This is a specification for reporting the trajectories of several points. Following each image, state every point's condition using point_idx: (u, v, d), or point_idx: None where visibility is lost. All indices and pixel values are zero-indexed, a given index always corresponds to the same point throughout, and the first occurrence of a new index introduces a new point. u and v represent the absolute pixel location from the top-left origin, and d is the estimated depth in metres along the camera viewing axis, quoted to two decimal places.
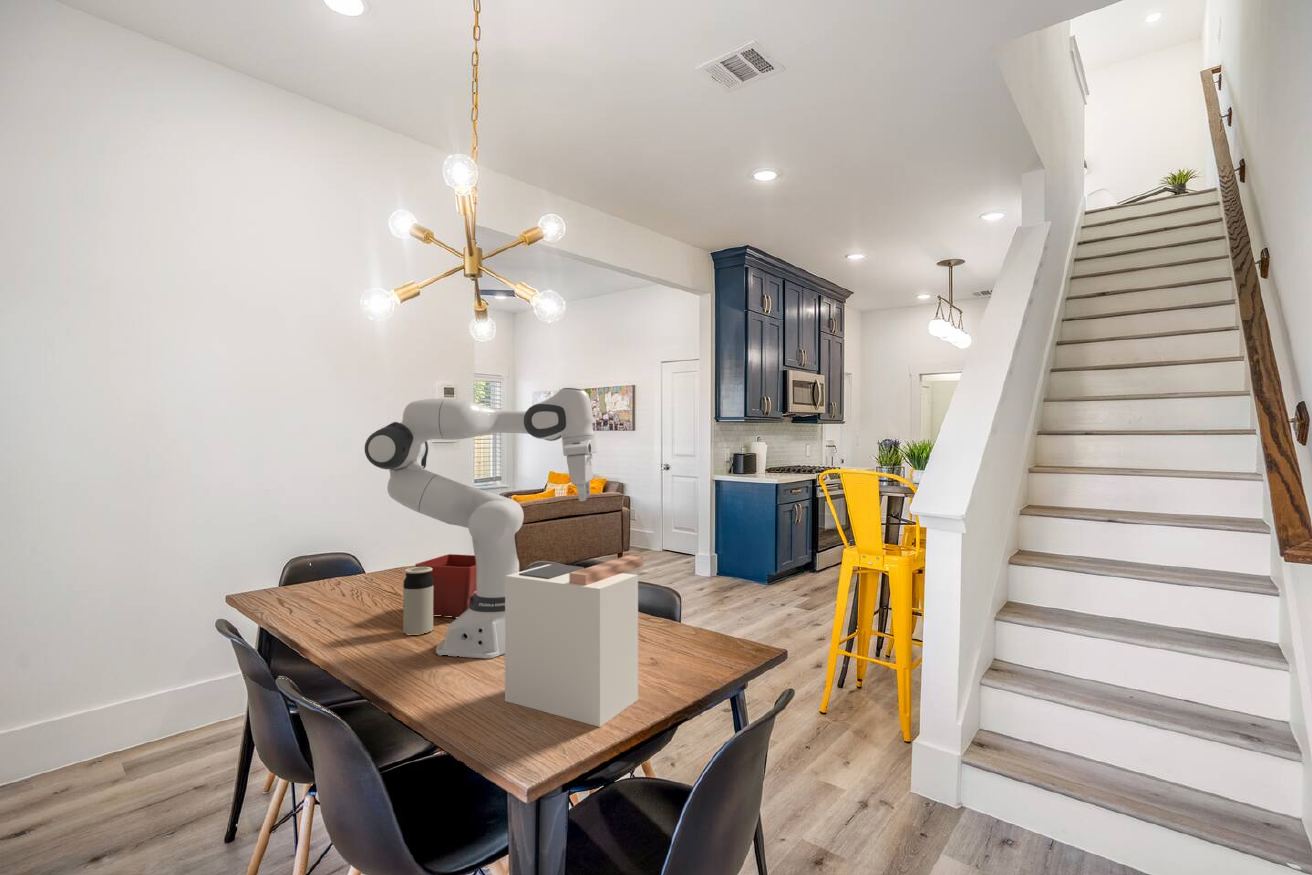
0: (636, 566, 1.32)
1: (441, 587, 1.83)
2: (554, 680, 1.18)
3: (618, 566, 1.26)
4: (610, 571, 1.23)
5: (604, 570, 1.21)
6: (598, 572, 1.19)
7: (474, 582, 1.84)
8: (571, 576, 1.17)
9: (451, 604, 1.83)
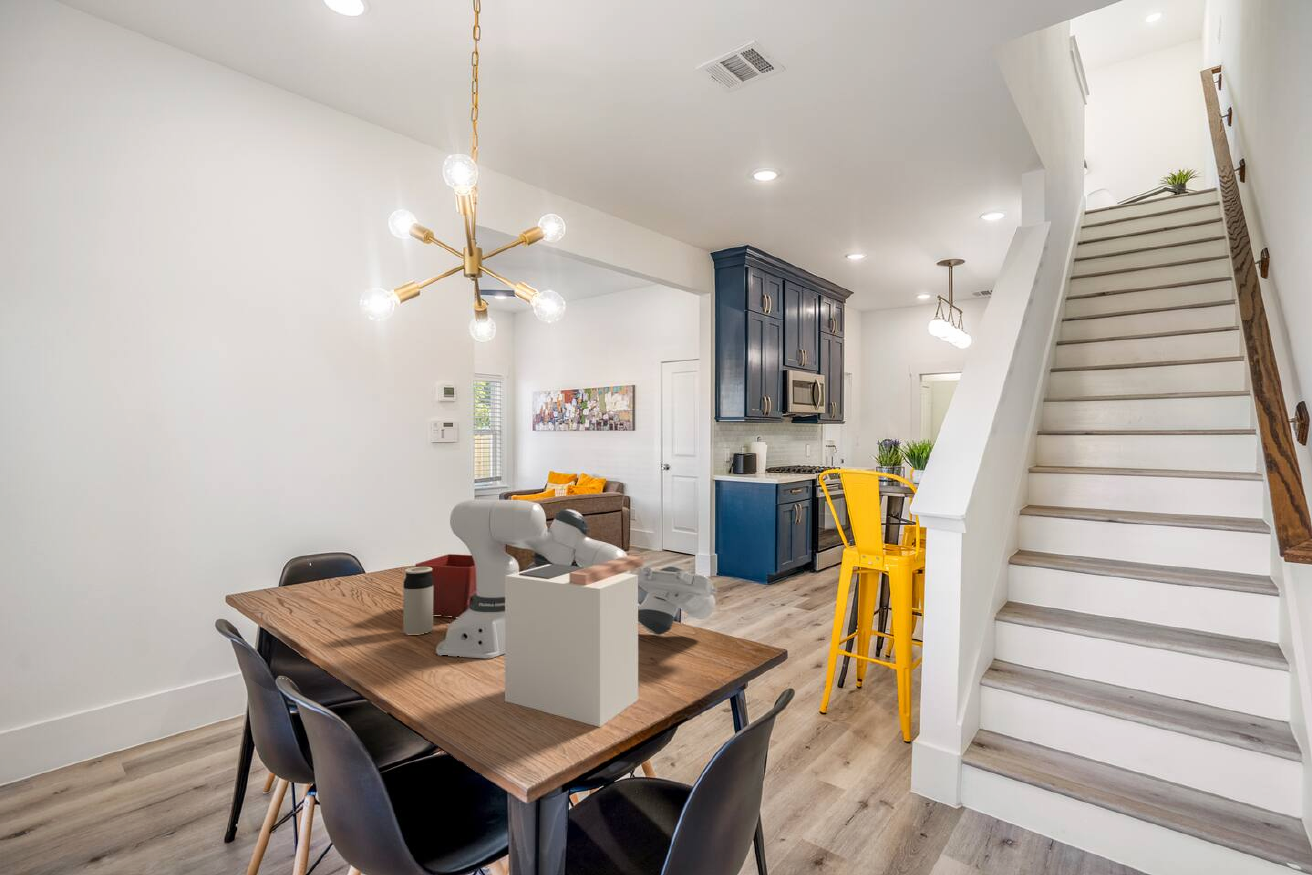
0: (636, 566, 1.32)
1: (441, 587, 1.83)
2: (554, 680, 1.18)
3: (618, 566, 1.26)
4: (610, 571, 1.23)
5: (604, 570, 1.21)
6: (598, 572, 1.19)
7: (474, 582, 1.84)
8: (571, 576, 1.17)
9: (451, 604, 1.83)
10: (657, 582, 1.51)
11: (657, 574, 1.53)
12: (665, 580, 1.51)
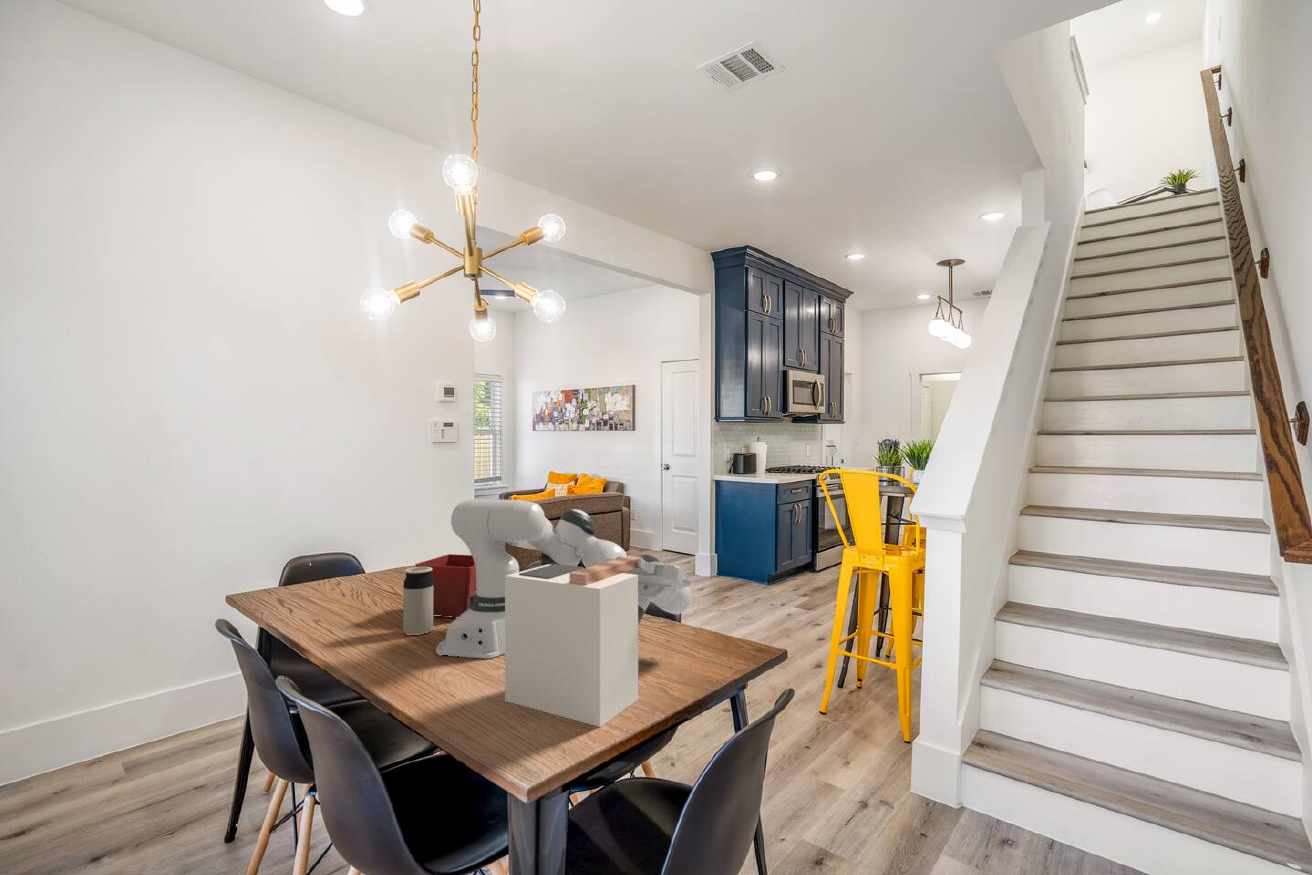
0: None
1: (441, 587, 1.83)
2: (554, 680, 1.18)
3: (618, 566, 1.26)
4: (610, 571, 1.23)
5: (604, 570, 1.21)
6: (598, 572, 1.19)
7: (474, 582, 1.84)
8: (571, 576, 1.17)
9: (451, 604, 1.83)
10: None
11: None
12: (633, 570, 1.37)
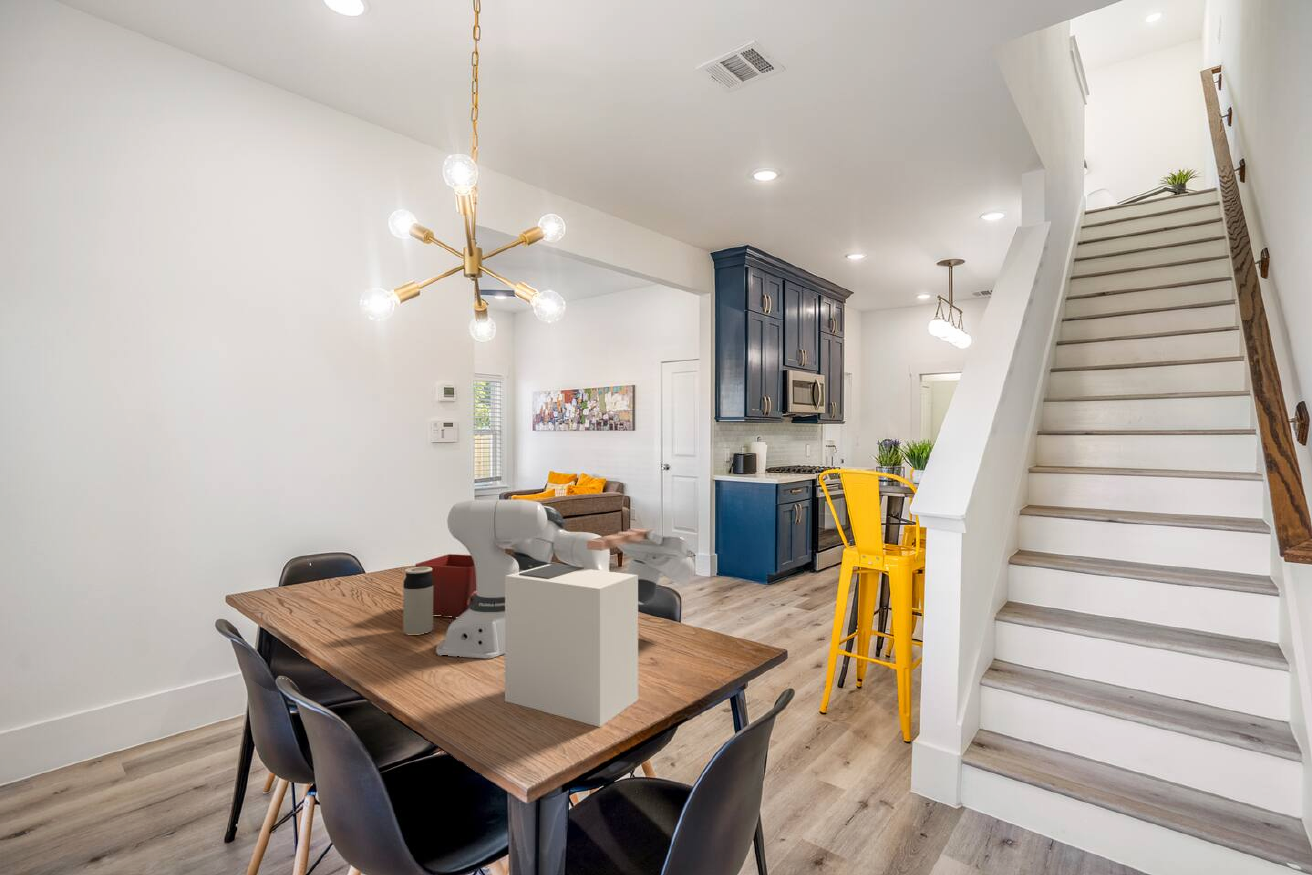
0: None
1: (441, 587, 1.83)
2: (554, 680, 1.18)
3: (630, 536, 1.43)
4: (623, 540, 1.41)
5: (617, 539, 1.39)
6: (612, 540, 1.37)
7: (474, 582, 1.84)
8: (589, 543, 1.35)
9: (451, 604, 1.83)
10: (635, 544, 1.55)
11: None
12: (643, 542, 1.55)
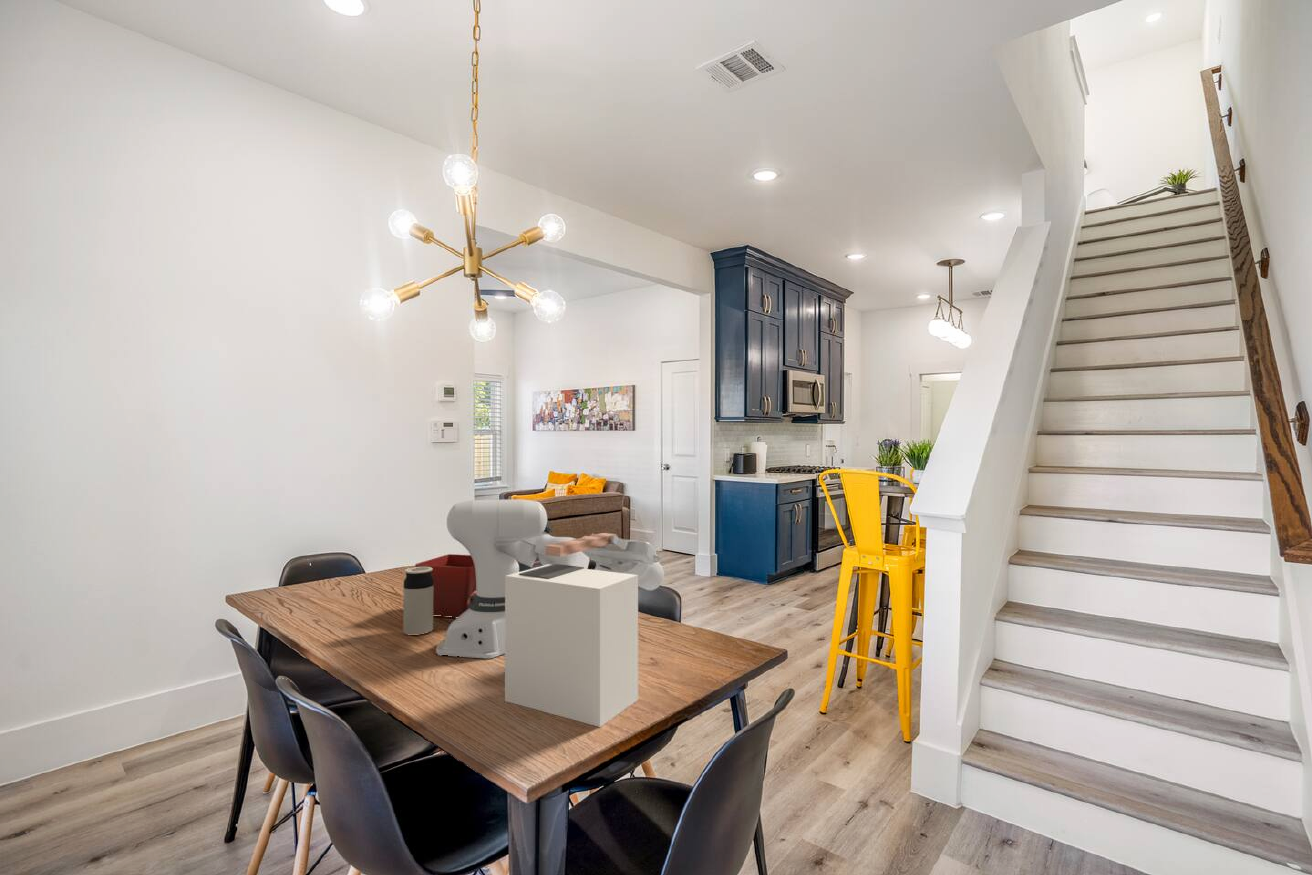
0: None
1: (441, 587, 1.83)
2: (554, 680, 1.18)
3: (592, 541, 1.37)
4: (584, 545, 1.34)
5: (578, 544, 1.32)
6: (572, 545, 1.30)
7: (474, 582, 1.84)
8: (547, 548, 1.28)
9: (451, 604, 1.83)
10: (600, 549, 1.48)
11: None
12: (608, 547, 1.48)
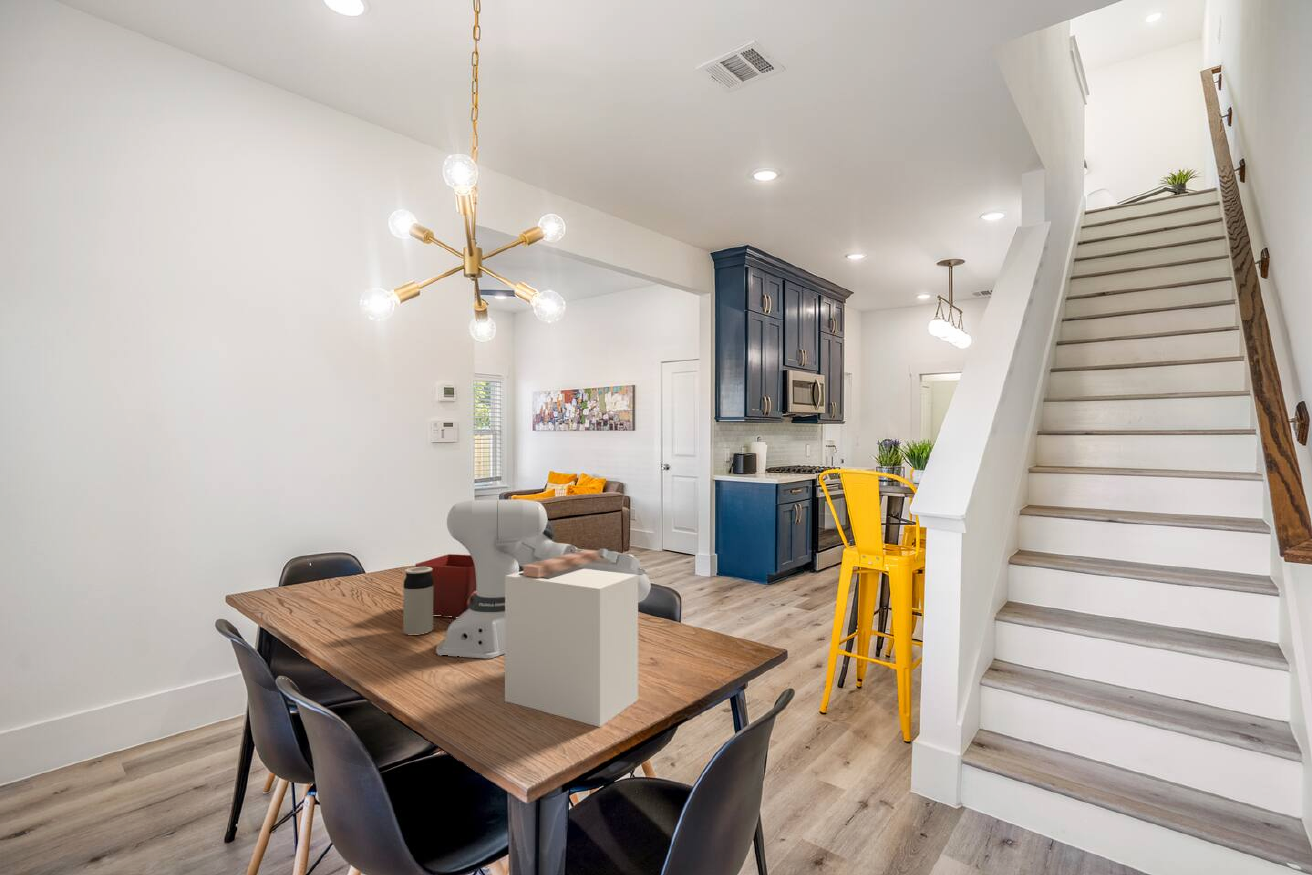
0: (592, 560, 1.38)
1: (441, 587, 1.83)
2: (554, 680, 1.18)
3: (573, 559, 1.32)
4: (564, 564, 1.29)
5: (558, 563, 1.27)
6: (551, 565, 1.25)
7: (474, 582, 1.84)
8: (525, 568, 1.23)
9: (451, 604, 1.83)
10: None
11: None
12: None
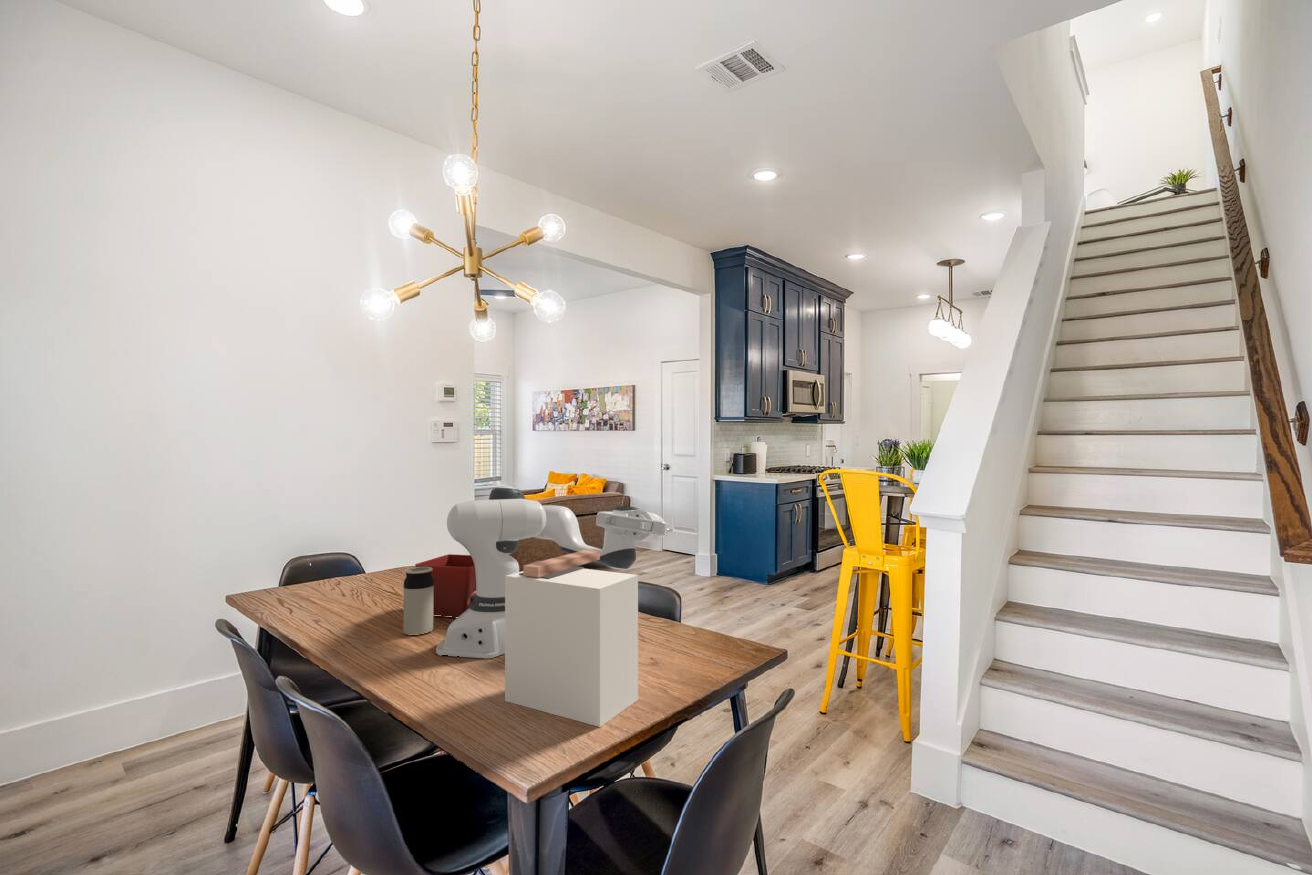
0: (592, 560, 1.38)
1: (441, 587, 1.83)
2: (554, 680, 1.18)
3: (573, 559, 1.32)
4: (564, 564, 1.29)
5: (558, 563, 1.27)
6: (551, 565, 1.25)
7: (474, 582, 1.84)
8: (525, 568, 1.23)
9: (451, 604, 1.83)
10: (617, 526, 1.62)
11: (617, 518, 1.63)
12: (625, 524, 1.62)
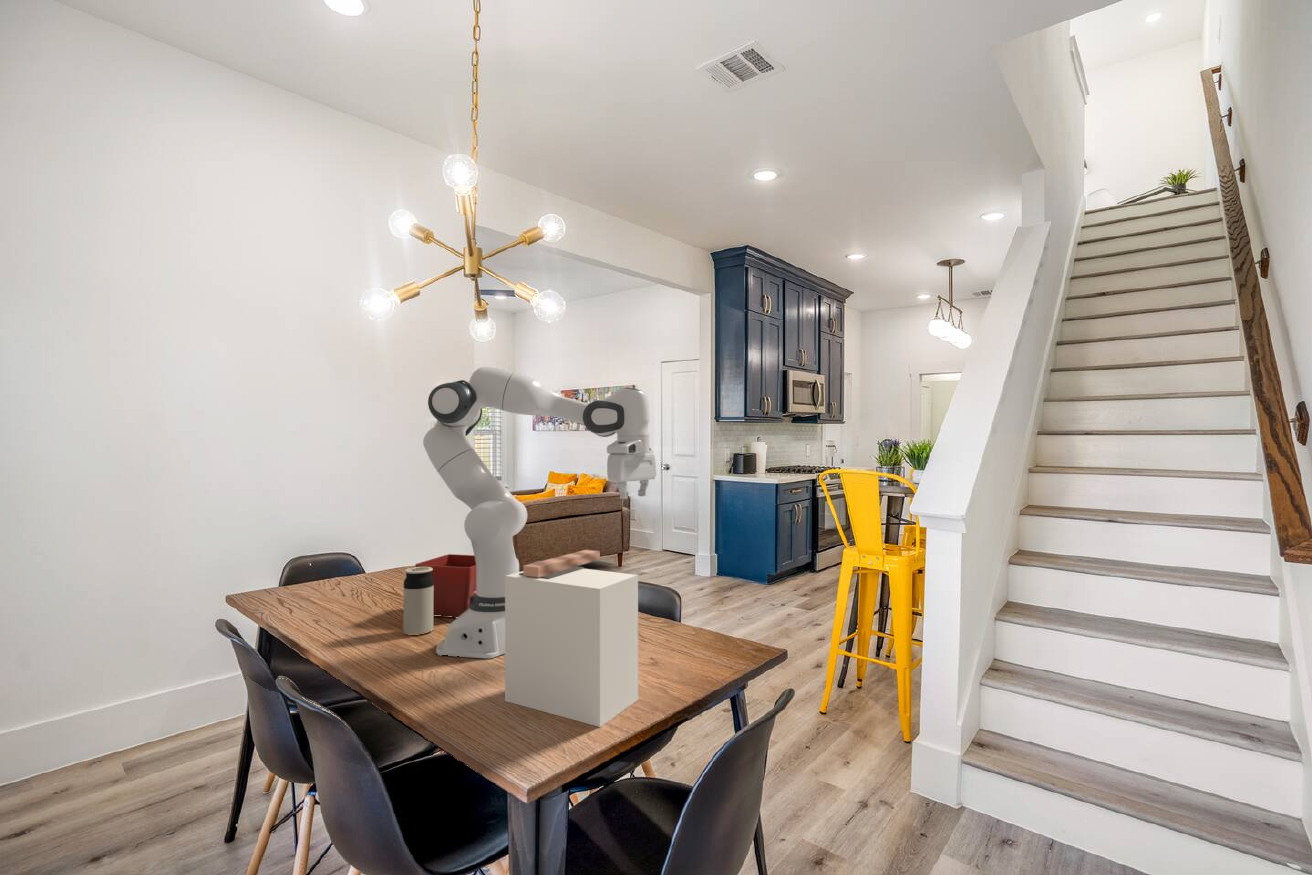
0: (592, 560, 1.38)
1: (441, 587, 1.83)
2: (554, 680, 1.18)
3: (573, 559, 1.32)
4: (564, 564, 1.29)
5: (558, 563, 1.27)
6: (551, 565, 1.25)
7: (474, 582, 1.84)
8: (525, 568, 1.23)
9: (451, 604, 1.83)
10: None
11: None
12: None
